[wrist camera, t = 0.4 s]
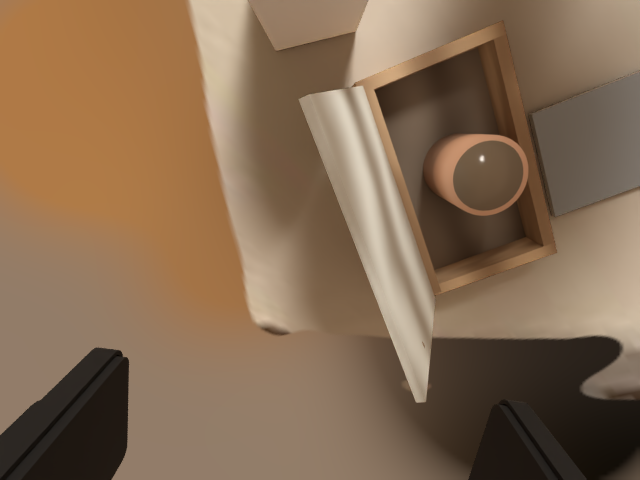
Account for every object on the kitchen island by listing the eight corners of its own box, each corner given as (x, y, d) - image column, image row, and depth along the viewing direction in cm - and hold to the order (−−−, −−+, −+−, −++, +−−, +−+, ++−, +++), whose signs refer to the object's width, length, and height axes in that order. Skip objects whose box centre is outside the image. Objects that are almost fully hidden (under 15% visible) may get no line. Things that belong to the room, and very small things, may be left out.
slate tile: (641, 69, 33) (646, 69, 33) (656, 177, 36) (662, 177, 35) (528, 114, 34) (532, 114, 34) (551, 215, 37) (555, 216, 36)
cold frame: (484, 31, 32) (640, -60, 17) (535, 241, 38) (691, 322, 22) (305, 106, 34) (294, 88, 18) (378, 297, 39) (419, 411, 24)
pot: (478, 122, 34) (518, 121, 27) (495, 185, 36) (536, 198, 29) (414, 148, 35) (437, 153, 28) (433, 208, 36) (460, 227, 30)
